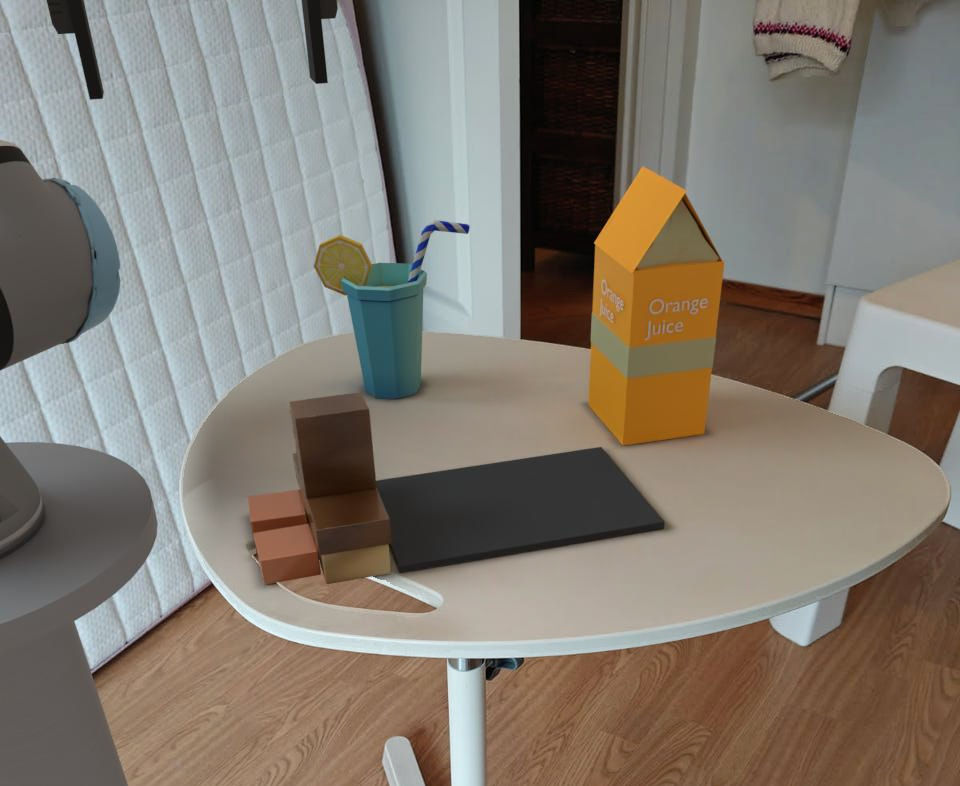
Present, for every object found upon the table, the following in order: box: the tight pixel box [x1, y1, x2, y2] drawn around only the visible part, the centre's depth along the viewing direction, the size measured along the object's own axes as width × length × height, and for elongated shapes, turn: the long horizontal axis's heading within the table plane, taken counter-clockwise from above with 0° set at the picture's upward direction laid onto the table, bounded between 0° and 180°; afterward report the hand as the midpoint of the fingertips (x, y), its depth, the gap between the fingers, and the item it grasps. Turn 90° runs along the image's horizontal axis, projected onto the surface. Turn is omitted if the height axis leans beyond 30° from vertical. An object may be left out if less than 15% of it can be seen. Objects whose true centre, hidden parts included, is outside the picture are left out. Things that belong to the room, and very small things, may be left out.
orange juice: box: [588, 165, 725, 446], centre depth 84 cm, size 8×9×20 cm
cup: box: [313, 219, 471, 400], centre depth 93 cm, size 14×8×15 cm, turn 101°
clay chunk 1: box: [247, 488, 308, 545], centre depth 76 cm, size 4×4×2 cm
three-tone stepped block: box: [289, 391, 392, 585], centre depth 72 cm, size 5×12×10 cm, turn 16°
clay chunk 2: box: [252, 523, 322, 586], centre depth 72 cm, size 4×4×2 cm
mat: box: [376, 446, 666, 574], centre depth 78 cm, size 20×13×1 cm, turn 105°
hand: (210, 88), depth 63 cm, fingers open, 13 cm apart
